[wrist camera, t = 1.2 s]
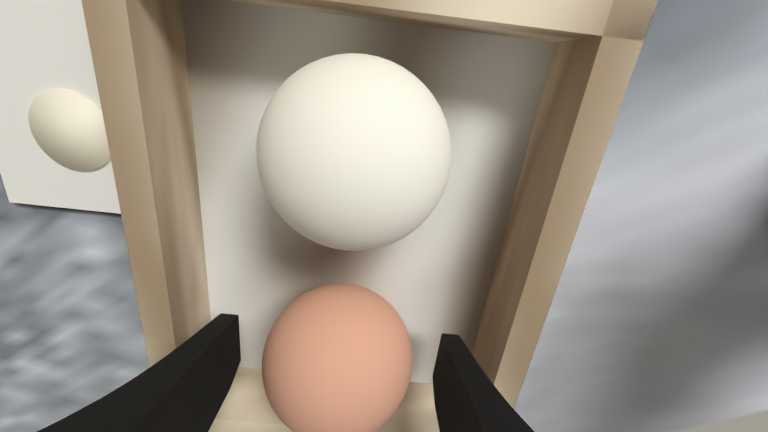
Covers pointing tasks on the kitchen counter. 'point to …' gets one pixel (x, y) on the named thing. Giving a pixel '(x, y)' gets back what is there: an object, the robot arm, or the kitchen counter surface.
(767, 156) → the kitchen counter surface
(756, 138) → the kitchen counter surface
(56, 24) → the card
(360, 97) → the cream ball
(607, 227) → the kitchen counter surface
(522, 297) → the two-well rack
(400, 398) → the terracotta ball
